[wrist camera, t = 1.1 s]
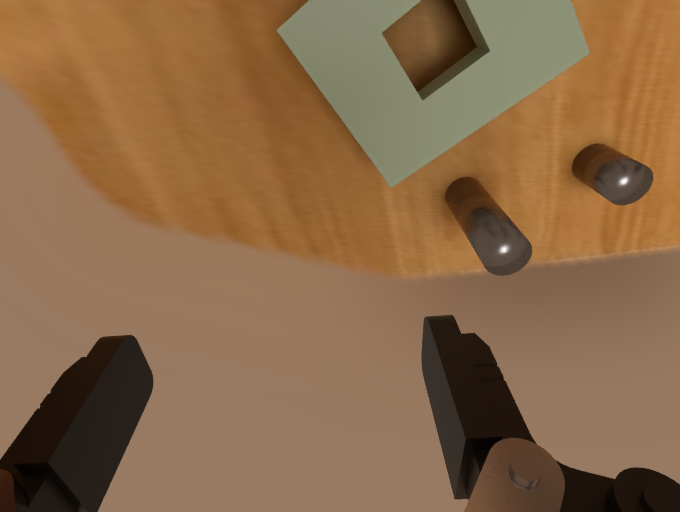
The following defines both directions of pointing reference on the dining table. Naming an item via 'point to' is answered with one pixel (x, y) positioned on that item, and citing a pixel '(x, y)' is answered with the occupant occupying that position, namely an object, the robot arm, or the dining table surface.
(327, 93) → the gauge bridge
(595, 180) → the short pin
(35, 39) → the dining table surface
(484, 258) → the long pin
